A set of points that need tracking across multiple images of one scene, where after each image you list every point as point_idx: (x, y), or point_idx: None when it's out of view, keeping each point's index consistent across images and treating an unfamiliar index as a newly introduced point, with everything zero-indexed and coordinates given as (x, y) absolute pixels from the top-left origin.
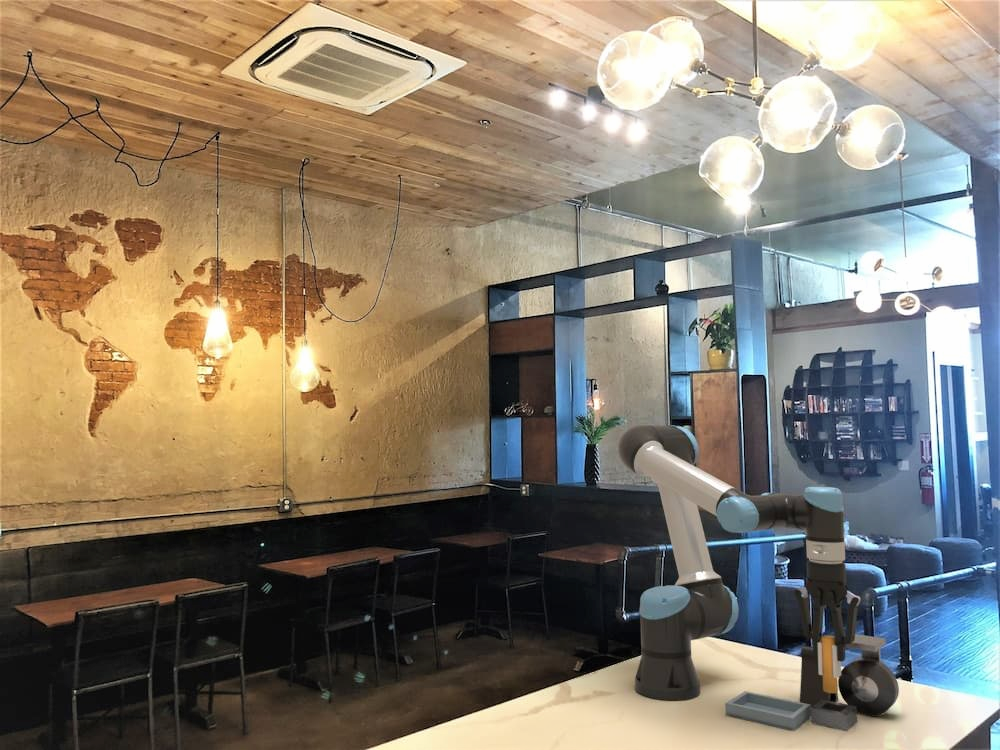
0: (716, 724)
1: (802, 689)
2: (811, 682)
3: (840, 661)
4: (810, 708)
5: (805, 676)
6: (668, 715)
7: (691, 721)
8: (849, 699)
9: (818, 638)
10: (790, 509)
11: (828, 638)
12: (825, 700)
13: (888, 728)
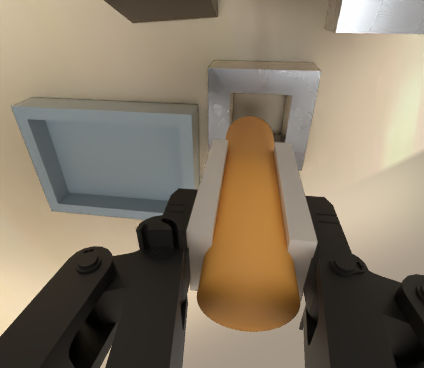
0: (87, 239)
1: (117, 4)
2: None
3: (298, 176)
4: (193, 114)
5: None
6: (12, 240)
7: (53, 245)
8: None
9: (187, 303)
10: None
11: (254, 325)
12: (220, 73)
13: (403, 67)
